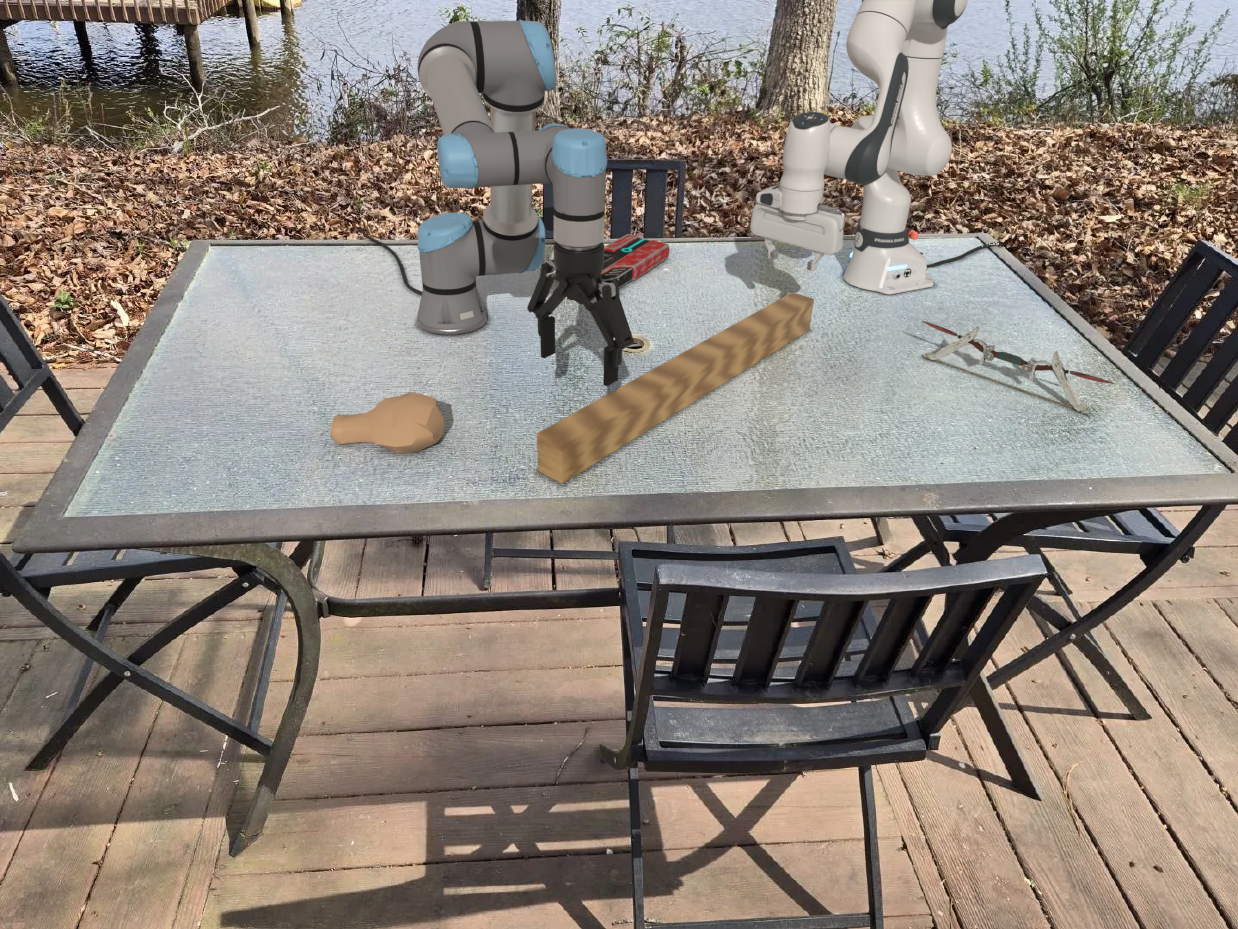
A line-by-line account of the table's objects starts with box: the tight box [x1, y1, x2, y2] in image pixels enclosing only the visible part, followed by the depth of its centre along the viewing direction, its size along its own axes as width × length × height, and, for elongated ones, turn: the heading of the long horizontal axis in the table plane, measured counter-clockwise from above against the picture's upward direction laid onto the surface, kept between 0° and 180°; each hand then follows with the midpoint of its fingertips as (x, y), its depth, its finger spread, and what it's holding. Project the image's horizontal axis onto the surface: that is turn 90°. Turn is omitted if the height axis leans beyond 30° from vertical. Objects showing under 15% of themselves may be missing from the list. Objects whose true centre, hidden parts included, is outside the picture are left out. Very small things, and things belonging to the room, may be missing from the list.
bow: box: [921, 320, 1114, 414], centre depth 176 cm, size 39×2×10 cm, turn 47°
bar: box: [536, 291, 815, 485], centre depth 171 cm, size 82×6×8 cm, turn 140°
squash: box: [330, 392, 446, 455], centre depth 152 cm, size 11×20×9 cm, turn 90°
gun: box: [601, 233, 671, 289], centre depth 224 cm, size 4×31×19 cm
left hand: (578, 368), depth 142 cm, fingers open, 13 cm apart
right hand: (792, 264), depth 185 cm, fingers open, 8 cm apart
